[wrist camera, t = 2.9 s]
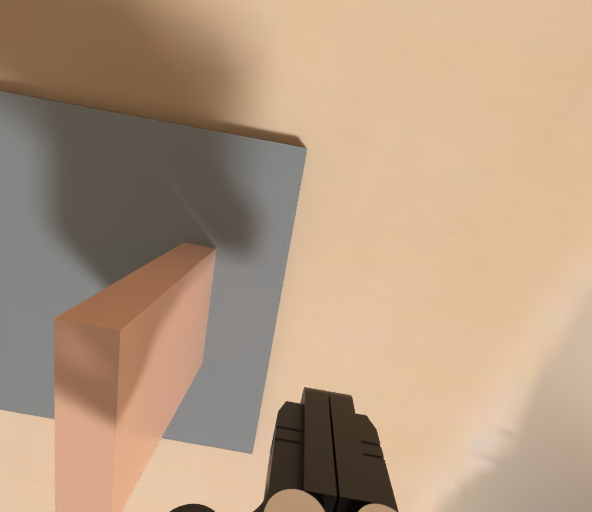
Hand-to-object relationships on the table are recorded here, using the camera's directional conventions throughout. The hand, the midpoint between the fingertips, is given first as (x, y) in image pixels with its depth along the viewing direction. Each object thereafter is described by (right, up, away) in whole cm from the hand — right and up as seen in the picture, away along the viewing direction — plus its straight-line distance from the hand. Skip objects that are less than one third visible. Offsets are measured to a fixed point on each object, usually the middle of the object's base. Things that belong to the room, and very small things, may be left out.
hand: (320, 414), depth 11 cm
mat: (-9, +3, +6) cm, 11 cm away
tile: (-6, +3, +5) cm, 8 cm away
